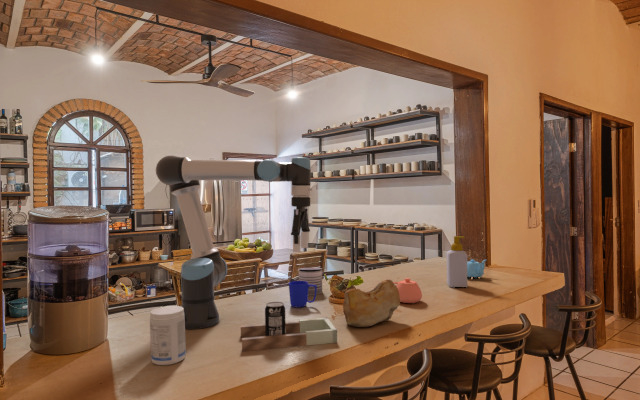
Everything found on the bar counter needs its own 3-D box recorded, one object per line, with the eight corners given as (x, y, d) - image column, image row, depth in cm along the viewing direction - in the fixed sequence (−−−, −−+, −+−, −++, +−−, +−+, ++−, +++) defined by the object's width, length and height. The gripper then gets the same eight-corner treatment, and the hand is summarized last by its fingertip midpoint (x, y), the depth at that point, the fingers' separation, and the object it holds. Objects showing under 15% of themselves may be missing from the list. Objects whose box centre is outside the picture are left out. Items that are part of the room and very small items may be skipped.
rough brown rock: (380, 312, 172) (376, 275, 173) (407, 319, 158) (403, 279, 158) (330, 324, 161) (327, 284, 161) (355, 332, 146) (351, 289, 147)
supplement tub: (175, 351, 131) (174, 303, 130) (192, 359, 124) (191, 309, 124) (144, 360, 124) (143, 310, 123) (160, 369, 117) (159, 316, 117)
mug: (314, 309, 175) (314, 285, 175) (286, 308, 178) (286, 284, 178) (318, 304, 183) (318, 281, 183) (291, 303, 186) (291, 280, 186)
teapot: (458, 279, 232) (458, 260, 232) (462, 274, 243) (462, 257, 243) (483, 281, 226) (483, 262, 225) (486, 276, 237) (486, 258, 237)
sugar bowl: (420, 306, 178) (420, 282, 178) (387, 303, 183) (387, 280, 182) (423, 299, 190) (423, 276, 190) (392, 297, 194) (391, 274, 194)
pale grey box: (306, 345, 134) (306, 332, 134) (299, 331, 148) (299, 319, 148) (337, 342, 136) (337, 330, 136) (327, 328, 150) (327, 317, 150)
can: (295, 294, 202) (294, 269, 202) (303, 289, 213) (303, 265, 213) (318, 295, 198) (317, 270, 198) (325, 290, 209) (325, 266, 209)
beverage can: (275, 335, 144) (275, 300, 143) (289, 339, 139) (289, 303, 139) (261, 341, 139) (260, 304, 138) (275, 345, 134) (274, 307, 134)
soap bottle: (467, 288, 209) (467, 237, 209) (449, 287, 211) (448, 237, 210) (464, 284, 218) (464, 235, 218) (446, 284, 220) (446, 235, 219)
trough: (242, 351, 130) (242, 339, 130) (240, 336, 144) (240, 325, 143) (306, 345, 134) (306, 334, 134) (299, 331, 148) (299, 321, 148)
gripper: (303, 196, 156) (303, 254, 156) (316, 196, 180) (315, 246, 181) (283, 196, 157) (283, 254, 157) (298, 196, 182) (298, 245, 182)
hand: (300, 250), depth 169 cm, fingers open, 13 cm apart
